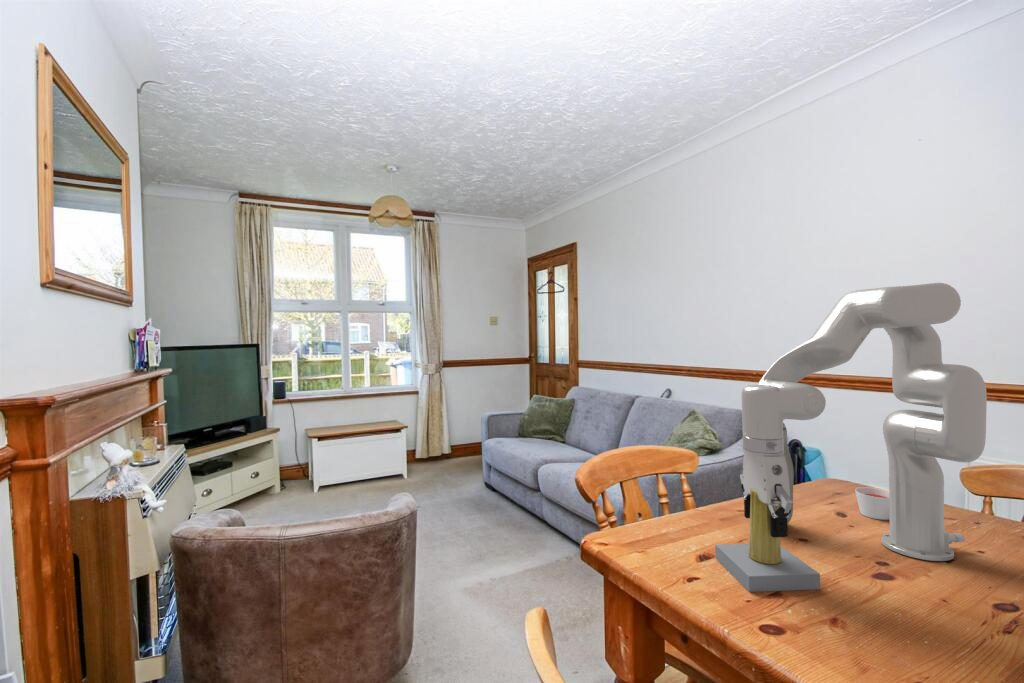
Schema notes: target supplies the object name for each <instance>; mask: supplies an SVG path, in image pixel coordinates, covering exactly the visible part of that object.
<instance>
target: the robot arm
mask: <svg viewBox="0 0 1024 683" xmlns="http://www.w3.org/2000/svg"><path fill="white" fill-rule="evenodd" d="M961 304H962V300H961V296H960V294H959V292H958V290H956V288H954V287H953V286H951V285H949V284H948V283H944V282H931V283H922V284H921V283H920V284H914V285H913V284H912V285H901V286H900V285H899V286H885V287H876V288H875V287H874V288H865V289H859V290H853V291H852V290H851V291H849V292H847V293H845V294H844V295H842V296H841V297H840V298H839V299H838V301H837V302H836V303H835V304H834V306H833V307H832V308H831V310H830V311H829V313H828V314H827V315H826V317H825V318H824V319H823V321H822V322H821V323H820V325H819V326H818V328H817V329H816V330H815V331H814V333H813V334H812V336H810V338H808V339H807V340H806V341H804V342H802V343H801V344H799V345H797V346H795V347H794V348H793V349H792V350H790V351H788V352H786V353H785V354H783V355H782V356H780V357H779V358H777V360H775V361H774V362H773V363H772V364H771V365H769V366H770V367H768V369H767V370H766V371H765V373H764V374H763V376H762V377H761V378H760V380H759V381H758V383H757V384H752V385H751V384H750V385H747V386H744V387H742V390H741V421H742V422H741V424H742V451H743V456H742V457H743V459H742V473H741V474H740V475H739V479H740V483H741V487H740V488H741V490H742V492H743V493H742V497H743V506H744V507H743V512H744V516H743V517H745V519H750V489H752V490H754V491H756V492H757V494H758V499H759V500H760V501H761V502H763V503H765V504H767V505H768V506H769V509H770V511H771V514H772V516H770V535H771V536H772V537H780V538H786V537H788V535H789V532H788V530H789V529H788V524H787V518H788V517H789V514H790V513H791V507H792V505H793V506H794V500H793V501H792V500H791V498H790V486H789V476H788V469H787V463H786V459H785V456H784V455H783V454H784V439H783V423H784V420H793V421H794V420H796V421H810V420H813V419H816V418H818V417H819V416H820V415H822V413H823V412H824V410H825V409H826V405H827V404H826V397H825V395H824V393H823V392H822V391H821V390H820V389H819V388H817V387H816V386H813V385H811V384H807V383H799V381H801V380H803V379H805V378H806V377H809V376H810V375H813V374H814V373H815V374H816V373H819V372H822V371H825V370H829V369H833V368H835V367H838V366H841V365H843V364H845V363H847V362H849V361H851V359H852V358H853V357H854V355H855V353H856V352H857V351H858V350H859V348H860V347H861V345H862V344H863V342H864V341H865V340H866V338H867V337H868V336H869V334H870V333H871V332H872V331H873V330H874V329H883V330H884V331H885V332H886V333H887V335H888V336H889V338H890V341H891V344H892V345H891V346H892V368H891V369H892V372H891V373H892V374H891V375H892V376H891V378H892V379H891V383H892V384H891V385H892V392H893V395H894V396H895V398H896V399H897V400H899V401H900V402H903V403H907V404H911V405H916V406H917V405H918V406H925V407H931V408H939V409H942V410H943V413H937V412H932V411H931V412H930V411H924V410H916V409H899V410H894V411H892V412H891V413H888V415H887V416H885V419H884V421H883V423H882V424H883V425H882V432H883V433H882V434H883V438H884V442H885V446H886V451H887V458H888V469H889V470H888V491H889V515H890V519H889V533H885V534H883V535H881V539H880V540H881V543H882V545H883V546H884V547H885V548H887V549H889V550H890V551H893V552H895V553H896V554H897V553H898V554H900V555H902V556H906V557H910V558H913V559H917V560H923V561H930V562H947V561H951V560H953V559H954V557H955V551H954V550H953V548H951V547H950V544H952V543H964V542H965V541H966V537H965V535H963V533H961V532H952V533H949V532H948V531H947V530H945V478H944V472H943V469H942V467H941V465H940V464H939V461H938V460H937V459H941V460H946V461H951V462H956V463H967V464H968V463H972V462H975V461H976V460H978V459H979V458H980V457H981V455H983V452H984V450H985V446H986V439H987V402H988V400H987V399H988V397H987V386H986V383H985V381H984V379H983V376H982V375H981V374H980V373H979V371H977V370H976V369H974V368H973V367H970V366H967V365H963V364H956V363H955V364H953V363H952V364H951V363H943V359H942V358H943V357H942V355H943V354H942V342H941V341H942V340H941V338H940V336H939V333H938V332H937V331H936V329H935V328H934V327H933V326H932V325H937V324H944V323H947V322H949V321H950V320H952V319H953V318H954V317H955V316H957V314H958V312H959V310H960V309H961ZM771 500H778V501H771ZM775 506H780V507H779V508H778V509H777V510H776V509H775Z"/></svg>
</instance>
